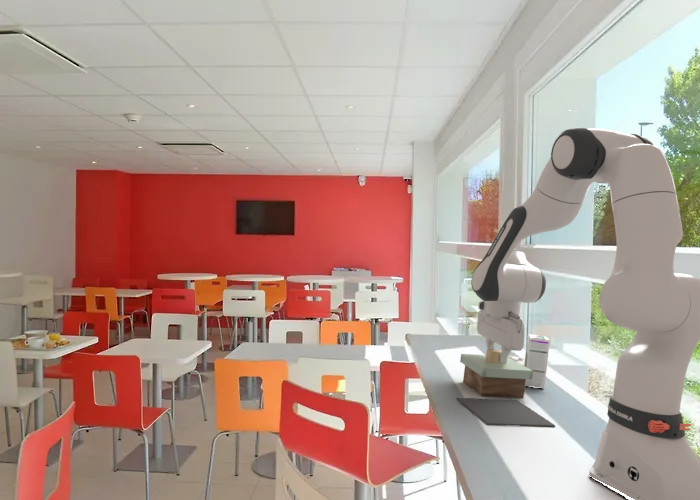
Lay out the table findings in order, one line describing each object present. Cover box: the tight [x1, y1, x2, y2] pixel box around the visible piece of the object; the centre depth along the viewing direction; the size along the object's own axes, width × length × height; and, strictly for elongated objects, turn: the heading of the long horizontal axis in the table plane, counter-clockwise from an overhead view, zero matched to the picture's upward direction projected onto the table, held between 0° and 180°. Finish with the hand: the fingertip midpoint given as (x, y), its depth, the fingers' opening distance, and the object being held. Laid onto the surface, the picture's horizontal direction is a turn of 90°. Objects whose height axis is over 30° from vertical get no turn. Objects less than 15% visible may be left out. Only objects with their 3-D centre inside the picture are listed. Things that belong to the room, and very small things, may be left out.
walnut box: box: [462, 365, 526, 399], centre depth 153 cm, size 12×12×7 cm
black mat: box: [456, 397, 556, 428], centre depth 135 cm, size 17×17×1 cm
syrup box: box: [524, 333, 551, 389], centre depth 162 cm, size 6×6×14 cm
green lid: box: [459, 349, 533, 379], centre depth 153 cm, size 14×14×5 cm
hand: (496, 358), depth 152 cm, fingers open, 5 cm apart
